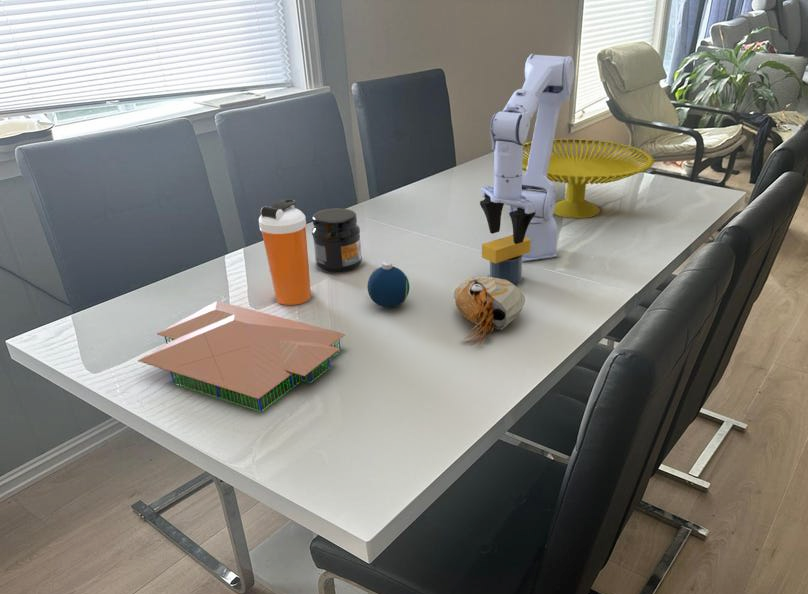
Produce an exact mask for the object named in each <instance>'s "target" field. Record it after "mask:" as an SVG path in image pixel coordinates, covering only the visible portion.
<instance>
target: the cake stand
mask: <svg viewBox="0 0 808 594" xmlns="http://www.w3.org/2000/svg"><path fill="white" fill-rule="evenodd" d="M561 142H562V143H561ZM580 142H581V143H580ZM586 142H587V145H586ZM593 142H594V143H593ZM562 144H563V147H562ZM580 144H581V145H580ZM592 144H593V146H592ZM531 145H532V140H531V141H530V142H527V141H525V143H524V144H523V166H522V171H524V172H526V171H527V166H528V161H529V155H530V150H531ZM574 145H575V148H574ZM598 145H599V146H598ZM604 145H605V147H604ZM617 145H618V146H617ZM568 146H569V150H568ZM579 146H580V147H579ZM585 146H586V150H585ZM591 146H592V149H591ZM597 146H598V147H597ZM610 146H611V147H610ZM603 147H604V148H603ZM609 147H610V148H609ZM597 148H598V149H597ZM615 148H616V149H615ZM552 149H553V150H554V151H553V150H552V152H551V157H550V162H549V167H548V173H547V178H548V179H549V180H550V181H551V182H555V183H557V182H559V183H561V184H562V183H564V184H566V192H565V193H566V194H565V195H566V196H565V198H564V199H562V200H560V201H556V202H555V209H554V213H553V215H555V216H559V217H562V218H568V219H569V218H570V219H587V218H591V217H595V216H597V215H599V214H600V211H601V210H600V208H599V207H598V206H597V205H595V204H593V203H591V202H589V201H588V200H586V199H585V197H586V187H587V185H589V184H590V185H593V184H595V185H598V184H601V185H602V184H604V183H605V184H608V183H613V182H614V183H615V182H617V181H618V182H619V181H621V180H623V179H626V178H629V177H632V176H635V175H637V174H640V173H642V172H645V171H647V170H649V169H651V167H653V166H654V165H655V158H654V157H653V155H651V153H648V151H645V150H643V149H641V148H637V147H635V146H631V145H626V143H625V144H624V143H620V142H614V141H608V140H602V139H599V140H598V139H588V138H586V139H585V138H554V141H553V146H552ZM563 149H564V150H563ZM579 149H580V152H579ZM590 149H591V152H590ZM596 149H597V150H596ZM614 149H615V150H614ZM620 149H621V150H620ZM558 150H559V151H558ZM574 150H575V151H574ZM607 150H608V151H607ZM613 150H614V151H613ZM584 151H585V154H584ZM595 151H596V152H595ZM606 151H607V152H606ZM612 151H613V152H612ZM618 151H619V152H618ZM600 152H601V153H600ZM611 152H612V153H611ZM579 153H580V154H579ZM589 153H590V154H589ZM594 153H595V154H594ZM605 153H606V154H605Z"/></svg>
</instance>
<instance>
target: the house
mask: <svg viewBox="0 0 808 594" xmlns="http://www.w3.org/2000/svg"><path fill="white" fill-rule="evenodd" d="M156 335H157V336H161V337H163V338H164V341H165V344H164V345H163V346H160V347H159V348H156V349H155V350H153V351H151V352H150V353H148V354H146V355H144V356H143V357H141V358H139V359H137V362H139V363H142V364H145V365H149V366H152V367H154V368H158V369H162V370H165V371H168V372H170V376H171V380H172V384H174V385H177V386H180V387H183V388H186V389H189V390H191V391H192V390H193V391H195V392H199V393H202V394H204V395H207V396H211V397H213V398H217V399H220V400H223V401H226V402H229V403H232V404H236V405H238V406H241V407H244V408H248V409H251V410H254V411H257V412H263V411H264V410H266V409H267V408H269V406H271V405H273V404H274V403H276V401H277V400H279V399H280V398H281V397H283V396H284V395H286V393H288V392H289V391H290V390H292V389H293V388H294V387H296V386H297V385H298V384H300V383H301V382H302V381H303V382H306V383H310V384H311V383H313V381H315V380H316V379H318V378H319V377H320V376H322V375H323V374H324V373H325V372H327V371H328V370H329V369H331V361H330V360H332V358H334V357H335V356H336V355H338V354H340V352H341V351H342V350H341V349H342V348H341V340H340V339H342V338H343V337H345V336H346V333H343V332H339V331H336V330H332V329H328V328H323V327H320V326H316V325H312V324H308V323H304V322H301V321H297V320H294V319H289V318H284V317H281V316H277V315H273V314H269V313H265V312H262V311H261V312H260V311H258V310H254V309H250V308H246V307H242V306H238V305H234V304H231V303H226V302H223V301H219V300H216V301H214V302H212V303H210V304H209V305H207V306H205V307H203V308H201V309H199V310H197V311H196V312H194V313H192V314H191V315H189V316H186V317H184V318H183V319H181V320H179V321H178V322H175V323H174V324H172V325H169V326H168V327H166V328H164V329H163V330H160V331H159V332H157V333H156ZM320 367H321V373H320ZM323 368H324V370H323ZM317 369H318V370H317ZM317 371H318V373H317ZM314 372H315V377H314ZM293 374H294V375H293ZM311 374H312V378H311ZM317 374H318V375H317ZM307 375H308V379H309V381H308V380H307ZM297 376H298V380H299V381H298V380H297ZM303 377H305V379H303ZM294 378H295V383H296V384H295V383H294ZM191 379H192V380H191ZM181 380H182V381H181ZM195 380H196V381H195ZM185 381H186V382H185ZM188 381H189V382H188ZM198 381H199V382H198ZM178 382H179V383H178ZM192 382H193V386H194V388H193V386H192ZM182 383H183V385H182ZM185 383H186V384H185ZM189 383H190V386H189ZM196 384H197V387H196ZM206 384H207V385H206ZM186 385H187V386H186ZM199 385H200V386H199ZM285 385H286V389H287V390H286V389H285ZM203 386H204V388H203ZM278 386H279V387H278ZM200 387H201V390H200ZM207 387H208V390H209V392H208V391H207ZM282 387H283V391H282ZM197 388H198V390H197ZM274 388H275V389H274ZM204 389H205V392H204ZM223 389H224V390H223ZM211 390H212V393H211ZM278 390H279V391H280V396H279V391H278ZM271 391H272V392H271ZM220 392H221V394H220ZM223 392H224V393H223ZM275 392H276V394H277V398H276V396H275ZM282 392H283V393H282ZM235 393H236V394H235ZM268 393H269V394H268ZM238 394H240V395H238ZM227 395H229V399H230V400H228V396H227ZM231 395H232V396H233V401H232V397H231ZM242 395H243V396H242ZM272 395H273V399H274V401H273V400H272ZM224 396H225V398H224ZM235 396H236V398H237V402H236V399H235ZM246 396H247V397H246ZM264 396H265V397H264ZM239 397H240V400H241V403H240V400H239ZM250 398H251V399H250ZM261 398H262V399H261ZM268 398H270V404H269V399H268ZM243 399H244V402H245V405H244V402H243ZM247 400H248V403H249V406H248V403H247ZM265 400H266V403H267V406H266V404H265ZM251 401H252V405H253V407H252V405H251ZM261 402H263V407H264V408H263V409H262V404H261ZM255 405H256V407H255ZM258 407H259V408H258Z"/></svg>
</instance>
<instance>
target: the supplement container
mask: <svg viewBox="0 0 808 594" xmlns="http://www.w3.org/2000/svg"><path fill="white" fill-rule="evenodd" d="M357 223H358V218H357V213H356V212H355V211H353V210H351V209H348V208H338V207H337V208H335V207H334V208H326V209H322V210H318V211H317V212H315V213H314V214H313V215H312V225H313V228H312V229H311V236H312V240H313V247H314V249H313V250H314V254H315V266H316V267H317V268H318V269H320V270H321V271H324V272H326V273H330V274H331V273H332V274H341V273H348V272H351V271H354V270H356V269H358V268H359V267H360V266H361V265H362V262H363V256H362V246H361V228H360V226H359V225H358V224H357Z"/></svg>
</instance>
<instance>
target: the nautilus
mask: <svg viewBox="0 0 808 594" xmlns="http://www.w3.org/2000/svg"><path fill="white" fill-rule="evenodd" d="M525 295H526V294H524V293H523V292H522V290H521V289H520V288H519V287H517V285H514V284H512V283H511V282H509V281H507V280H504V279H498V278H493V277H489V276H479V277H478V276H477V277H476V276H475V277H471V278H468V279H466V280H464V281H462V282H461V283H460V284H459V285H458V286H457V287H455V289H454V293H453V299H454V303H455V306H456V308H457V310H458V311H459V313H460V314H461V316H463V317H462V318H465V319H466V320H467V321H468V322H470V323H472V324H476V325H475V326H474V327H473V328H471V329H470V331H472V330H474V331H473V332H471V334H469V335H467V336H466V337H464V338H463V339H464V340H465V339H469V340H468V341H465V343H470V342H474V343H472V344H471V345H470V347H472V346H474V345H475V344H477V343H478V342H479V341H480V342H479V345H481V344H482V339H483V338H484V337H485V336H486V340H488V338H489V335H490V334H491V333H492V331H494V329H497V330H499V331H503V330H504V329H505V328H506V327H507V326H508V325H509V324H510V323H511V322H512V321H513V320H514V319H516V318H517V316H518V315H519V314H520V313H521V311H522V310H523V308H524V307H525V304H526V296H525ZM478 326H479V327H478ZM478 330H479V331H478ZM488 332H489V333H488ZM481 333H482V335H481ZM487 333H488V334H487ZM479 335H481V336H480V337H478V336H479ZM477 337H478V338H477Z"/></svg>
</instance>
